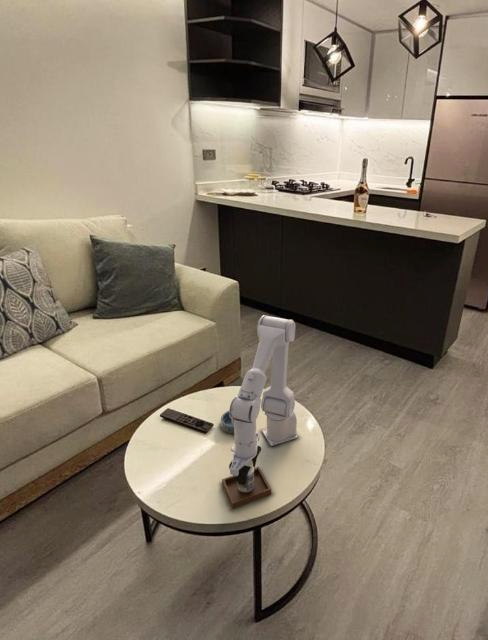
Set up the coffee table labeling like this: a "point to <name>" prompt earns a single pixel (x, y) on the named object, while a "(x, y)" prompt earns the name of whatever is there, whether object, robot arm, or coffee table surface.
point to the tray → (243, 498)
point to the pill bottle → (248, 479)
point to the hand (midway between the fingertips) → (246, 476)
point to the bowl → (227, 423)
